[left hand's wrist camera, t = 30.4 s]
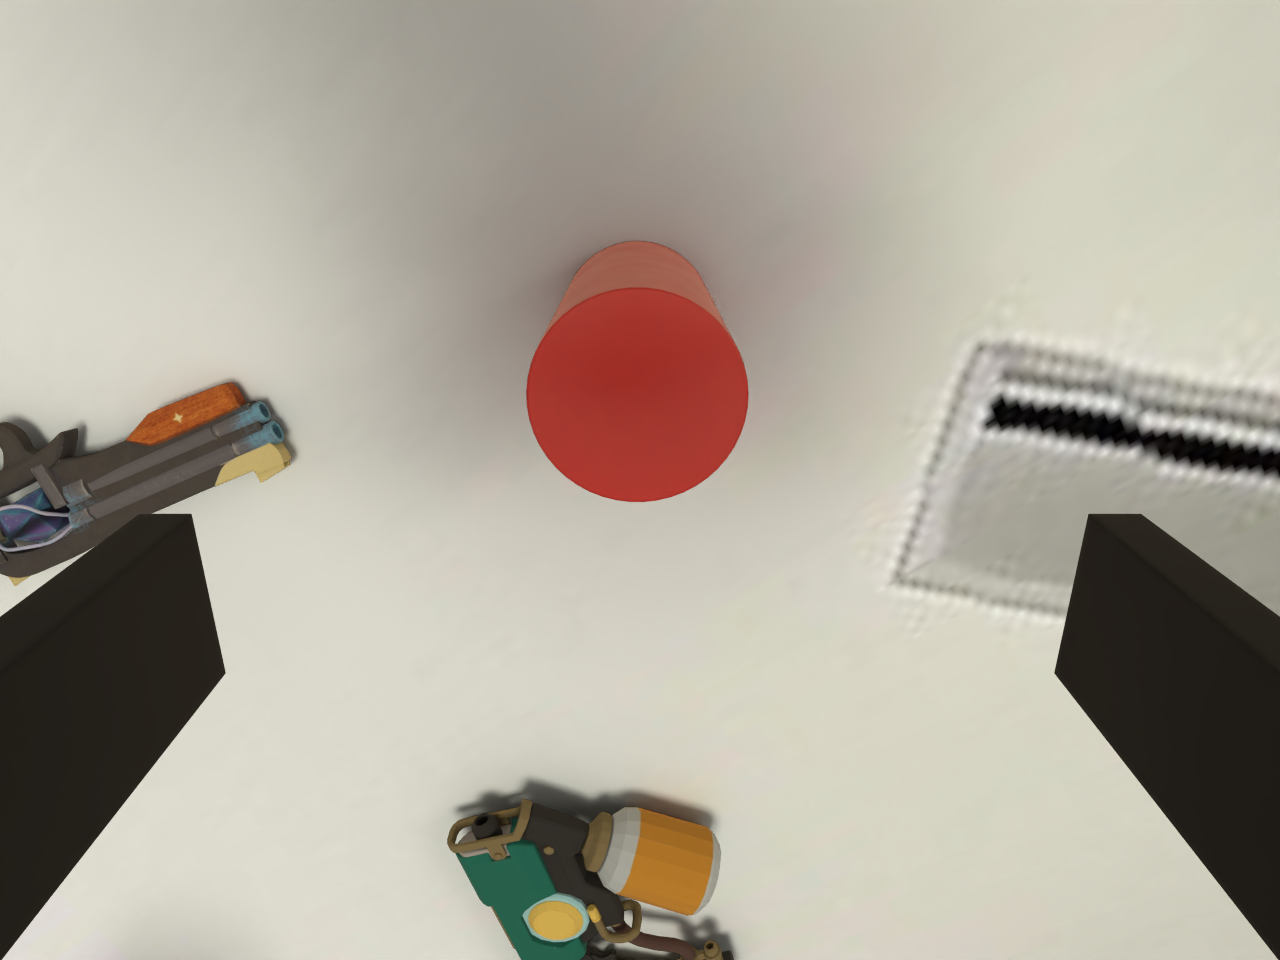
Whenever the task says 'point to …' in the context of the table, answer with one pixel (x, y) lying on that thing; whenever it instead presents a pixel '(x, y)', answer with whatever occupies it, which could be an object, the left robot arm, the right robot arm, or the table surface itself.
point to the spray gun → (587, 877)
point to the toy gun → (127, 474)
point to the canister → (637, 377)
